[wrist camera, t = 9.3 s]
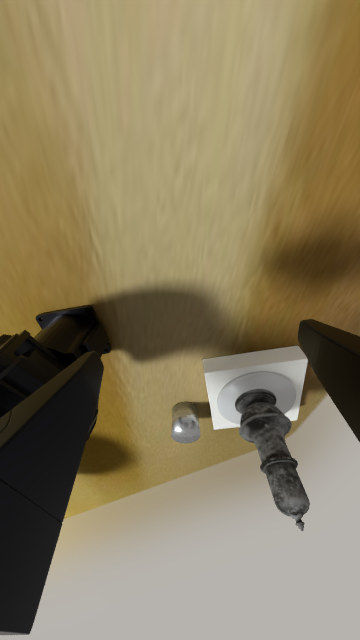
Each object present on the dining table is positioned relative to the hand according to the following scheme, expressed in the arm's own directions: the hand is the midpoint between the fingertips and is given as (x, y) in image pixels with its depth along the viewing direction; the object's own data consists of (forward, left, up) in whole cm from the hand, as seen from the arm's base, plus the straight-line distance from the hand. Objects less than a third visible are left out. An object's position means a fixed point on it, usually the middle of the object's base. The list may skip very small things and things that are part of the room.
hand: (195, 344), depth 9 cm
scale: (+6, -19, -13) cm, 24 cm away
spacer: (-4, -23, -13) cm, 27 cm away
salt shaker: (+6, -19, -10) cm, 22 cm away
